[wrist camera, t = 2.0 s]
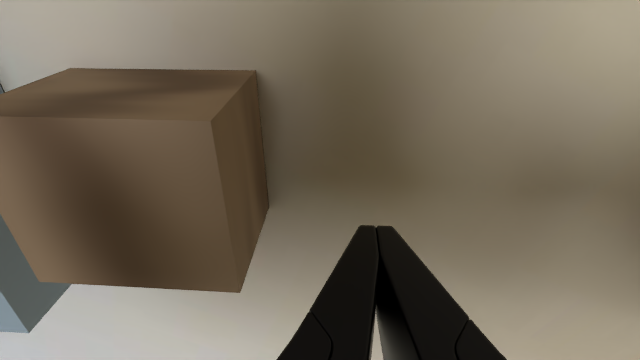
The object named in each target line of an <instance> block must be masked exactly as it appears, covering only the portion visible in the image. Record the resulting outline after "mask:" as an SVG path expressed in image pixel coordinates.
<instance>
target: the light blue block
mask: <svg viewBox="0 0 640 360" xmlns="http://www.w3.org/2000/svg"><path fill="white" fill-rule="evenodd" d="M2 93H4V92H3V89H2V87H1V85H0V94H2ZM70 285H71V284H70V283H52V282H39V281H38V279H37V277H36V275H35V274H34V272H33V270H32V268H31V267H30V265H29V263H28V261H27V260H26V258H25V256H24V254H23V253H22V251H21V249H20V247H19V246H18V244H17V242H16V240H15V239H14V237H13V235H12V233H11V232H10V230H9V228H8V226H7V225H6V223H5V221H4V219H3V218H2V216H1V214H0V332H19V333H29V332H30V331H31V330H32V329H33V328H34V327H35V325H36V324H37V323H38V322H39V321H40V320H41V319H42V317H43V316H44V315H45V314H46V313H47V312H48V311H49V309H50V308H51V307H52V306H53V305H54V304H55V303H56V301H57V300H58V299H59V298H60V297H61V296H62V295H63V293H64V292H65V291H66V290H67V289H68V288H69V286H70Z"/></svg>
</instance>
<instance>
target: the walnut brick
mask: <svg viewBox="0 0 640 360" xmlns="http://www.w3.org/2000/svg"><path fill="white" fill-rule="evenodd" d="M268 209H269V203H268V193H267V182H266V172H265V162H264V151H263V141H262V131H261V120H260V110H259V100H258V89H257V79H256V71H247V70H166V69H85V68H70V69H67V70H64V71H62V72H59V73H56V74H53V75H51V76H48V77H45V78H43V79H40V80H37V81H35V82H32V83H29V84H27V85H24V86H21V87H18V88H16V89H13V90H10V91H8V92H5V93H2V94H0V214H1V216H2V218H3V219H4V221H5V223H6V225H7V226H8V228H9V230H10V232H11V233H12V235H13V237H14V239H15V240H16V242H17V244H18V246H19V247H20V249H21V251H22V253H23V254H24V256H25V258H26V260H27V261H28V263H29V265H30V267H31V268H32V270H33V272H34V274H35V275H36V277H37V279H38V281H39V282H52V283H70V284H89V285H107V286H126V287H144V288H162V289H181V290H199V291H218V292H236V293H240V292H241V289H242V286H243V283H244V280H245V277H246V274H247V271H248V268H249V265H250V262H251V259H252V256H253V253H254V250H255V247H256V244H257V241H258V238H259V235H260V232H261V229H262V226H263V223H264V221H265V218H266V215H267V212H268Z"/></svg>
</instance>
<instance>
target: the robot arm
mask: <svg viewBox="0 0 640 360" xmlns="http://www.w3.org/2000/svg"><path fill="white" fill-rule="evenodd" d="M375 311H376V314H377V322H378V328H379V334H380V340H381V346H382V353H383V359H384V360H507V359H506V358H505V357H504V356H503V355H502V354H501V353H500V352H499V351H498V350H497V349H496V348H495V346H494V345H493V344H492V343H491V342H490V341H489V340H488V339H487V337H486V336H485V335H484V334H483V333H482V332H481V331H480V329H479V328H478V327H477V326H476V325H475V324H474V322H473V321H472V320H469V317H468V315H467V314H466V313H465V312H464V311H463V309H462V308H461V307H460V306H459V305H458V304H457V302H456V301H455V300H454V299H453V298H452V296H451V295H450V294H449V293H448V292H447V291H446V289H445V288H444V287H443V286H442V285H441V283H440V282H439V281H438V280H437V279H436V277H435V276H434V275H433V274H432V273H431V272H430V270H429V269H428V268H427V267H426V266H425V264H424V263H423V262H422V261H421V260H420V259H419V257H418V256H417V255H416V254H415V253H414V251H413V250H412V249H411V248H410V247H409V246H408V244H407V243H406V242H405V241H404V240H403V238H402V237H401V236H400V235H399V234H398V232H397V231H396V230H395V229H394V228H393V227H392V226H377V227H375V226H371V225H361V226H359V227H358V229H357V231H356V232H355V234H354V236H353V237H352V239H351V241H350V243H349V244H348V246H347V248H346V249H345V251H344V253H343V254H342V256H341V258H340V259H339V261H338V263H337V265H336V266H335V268H334V270H333V271H332V273H331V275H330V276H329V278H328V280H327V281H326V283H325V285H324V287H323V288H322V290H321V292H320V293H319V295H318V297H317V298H316V300H315V302H314V303H313V305H312V307H311V309H310V311H309V312H308V313H307V315H306V317H305V318H304V320H303V322H302V323H301V325H300V327H299V328H298V330H297V331H296V333H295V334H294V336H293V338H292V339H291V341H290V342H289V344H288V345H287V346H286V348H285V349H284V350H283V352H282V353H281V354H280V356H279V357H278V358H277V360H371V354H372V344H373V333H374V323H375Z"/></svg>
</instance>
